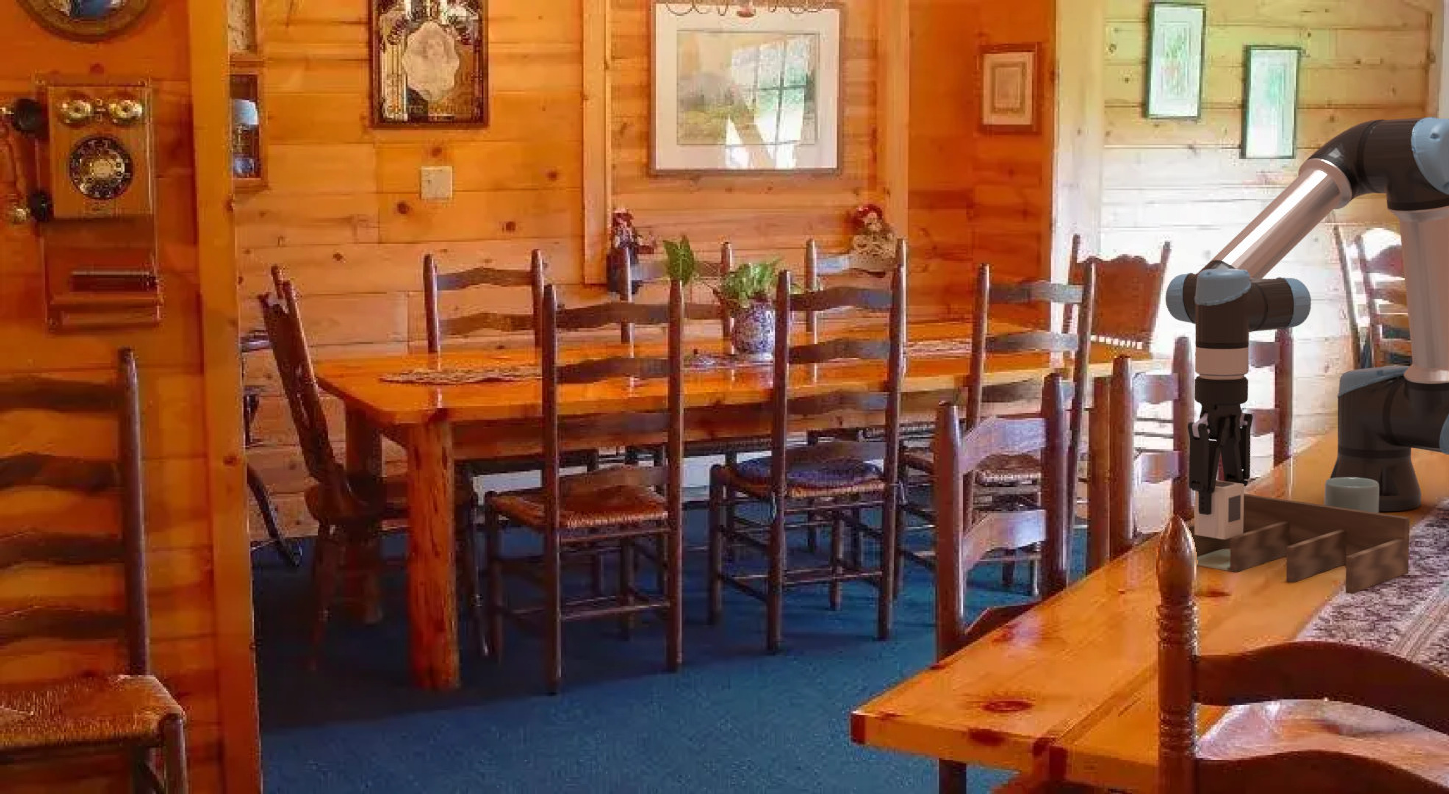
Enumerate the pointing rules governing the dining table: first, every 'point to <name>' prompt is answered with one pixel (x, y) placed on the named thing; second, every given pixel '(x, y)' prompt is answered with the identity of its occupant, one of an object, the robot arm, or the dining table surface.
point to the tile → (1216, 559)
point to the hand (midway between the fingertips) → (1219, 532)
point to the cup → (1352, 493)
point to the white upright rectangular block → (1226, 509)
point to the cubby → (1316, 541)
